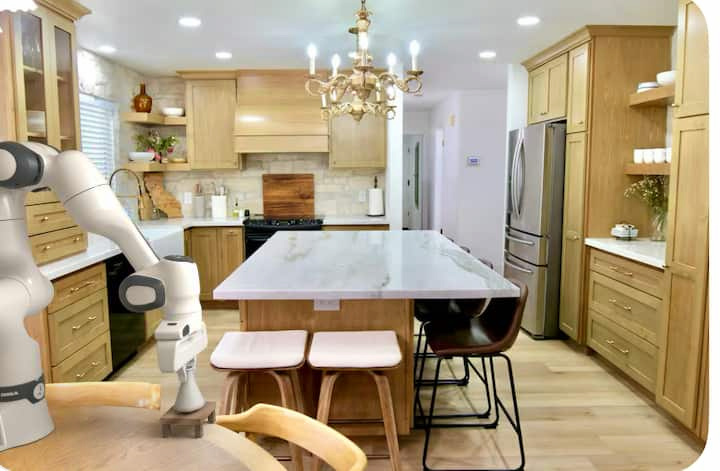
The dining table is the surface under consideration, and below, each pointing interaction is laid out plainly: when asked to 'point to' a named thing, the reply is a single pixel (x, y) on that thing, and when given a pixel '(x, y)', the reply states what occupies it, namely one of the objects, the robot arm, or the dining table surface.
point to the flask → (189, 394)
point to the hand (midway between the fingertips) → (187, 377)
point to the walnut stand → (188, 419)
